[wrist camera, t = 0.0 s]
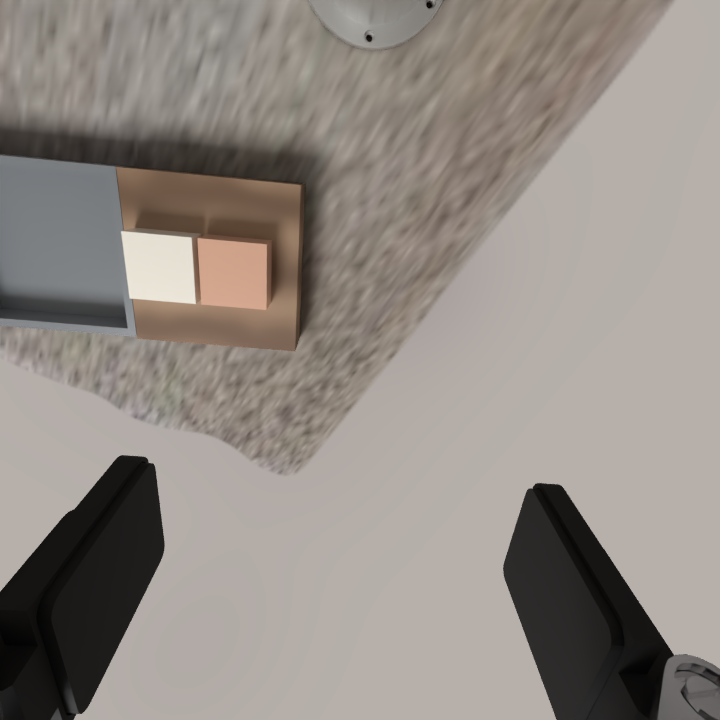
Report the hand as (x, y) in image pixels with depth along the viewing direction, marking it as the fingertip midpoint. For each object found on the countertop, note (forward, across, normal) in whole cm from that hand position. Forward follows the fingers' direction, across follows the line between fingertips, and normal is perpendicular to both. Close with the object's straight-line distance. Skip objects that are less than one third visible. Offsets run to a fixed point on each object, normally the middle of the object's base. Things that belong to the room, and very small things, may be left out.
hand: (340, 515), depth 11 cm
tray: (+37, +29, +2) cm, 47 cm away
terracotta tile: (+33, +10, +2) cm, 34 cm away
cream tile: (+33, +17, +2) cm, 37 cm away
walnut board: (+37, +13, +2) cm, 39 cm away
